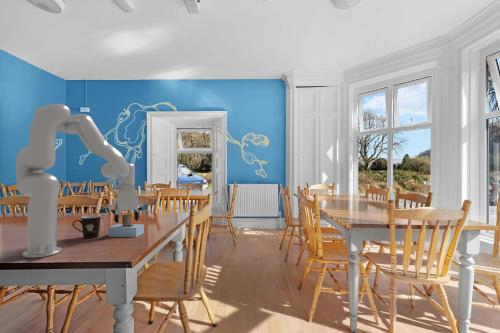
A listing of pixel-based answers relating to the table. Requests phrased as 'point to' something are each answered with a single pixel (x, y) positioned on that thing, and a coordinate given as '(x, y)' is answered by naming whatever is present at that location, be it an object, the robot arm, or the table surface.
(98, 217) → the coffee mug
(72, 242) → the table surface
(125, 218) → the peg
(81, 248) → the table surface
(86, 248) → the table surface
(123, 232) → the socket board
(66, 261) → the table surface
